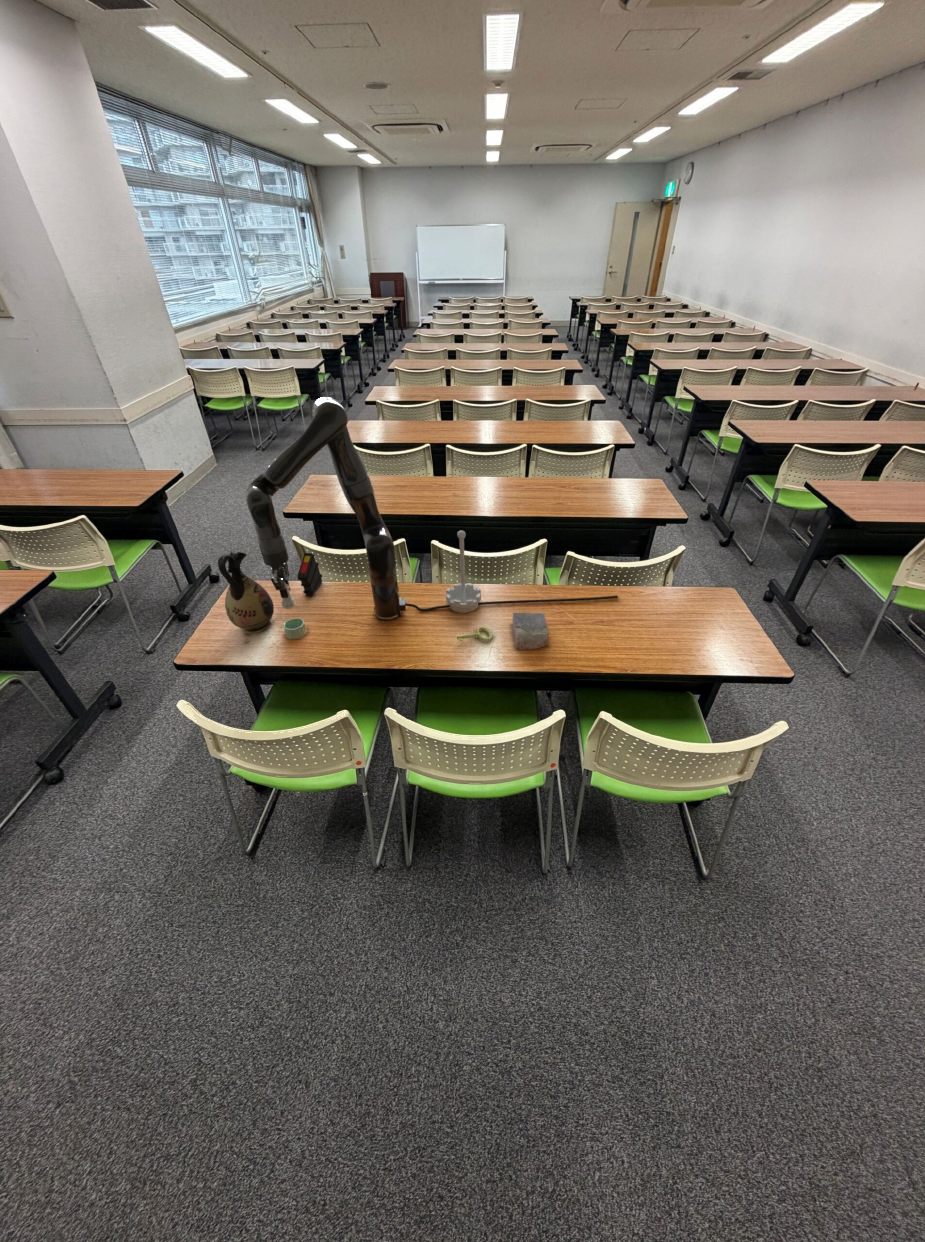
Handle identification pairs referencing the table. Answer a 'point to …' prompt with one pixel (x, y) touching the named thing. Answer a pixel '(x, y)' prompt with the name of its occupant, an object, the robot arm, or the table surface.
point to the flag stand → (463, 587)
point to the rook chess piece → (288, 600)
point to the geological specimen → (530, 630)
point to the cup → (294, 628)
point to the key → (477, 635)
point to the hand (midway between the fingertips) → (286, 594)
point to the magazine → (309, 574)
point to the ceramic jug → (245, 597)
